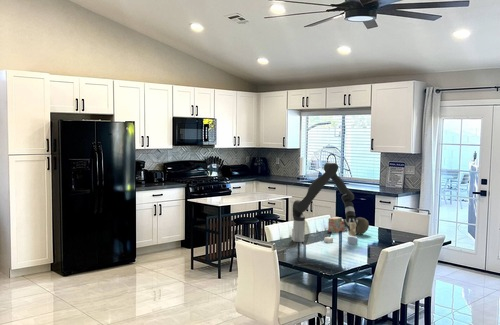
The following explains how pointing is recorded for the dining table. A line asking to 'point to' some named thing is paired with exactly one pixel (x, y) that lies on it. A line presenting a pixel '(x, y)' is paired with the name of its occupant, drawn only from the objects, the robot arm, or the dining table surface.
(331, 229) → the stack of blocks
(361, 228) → the cantaloupe
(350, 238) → the blue base block
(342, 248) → the dining table surface
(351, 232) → the oak block
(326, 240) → the cream block
